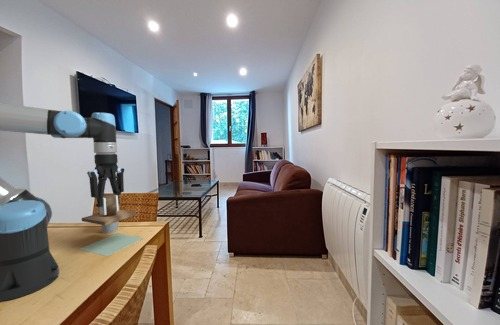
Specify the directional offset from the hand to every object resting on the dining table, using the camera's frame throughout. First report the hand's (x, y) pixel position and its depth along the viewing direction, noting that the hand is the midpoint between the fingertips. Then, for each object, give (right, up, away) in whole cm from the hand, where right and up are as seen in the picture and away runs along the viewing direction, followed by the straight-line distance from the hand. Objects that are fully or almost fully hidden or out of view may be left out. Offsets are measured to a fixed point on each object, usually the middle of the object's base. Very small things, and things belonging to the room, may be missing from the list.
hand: (109, 212), depth 89 cm
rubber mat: (+1, -13, +1) cm, 13 cm away
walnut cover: (0, -2, 0) cm, 2 cm away
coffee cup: (-9, -12, +15) cm, 21 cm away
